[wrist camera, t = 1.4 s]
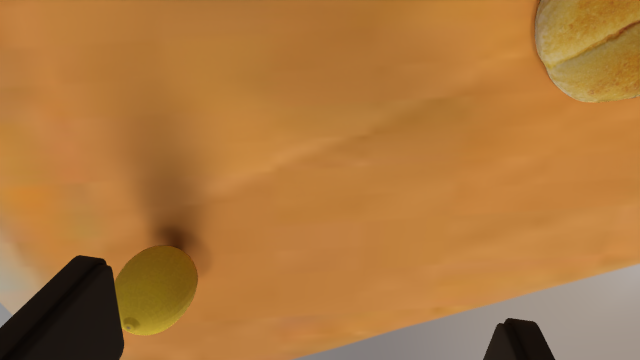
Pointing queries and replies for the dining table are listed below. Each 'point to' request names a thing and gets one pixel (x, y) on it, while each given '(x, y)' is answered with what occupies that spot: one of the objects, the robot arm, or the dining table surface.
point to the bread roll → (591, 47)
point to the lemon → (155, 289)
